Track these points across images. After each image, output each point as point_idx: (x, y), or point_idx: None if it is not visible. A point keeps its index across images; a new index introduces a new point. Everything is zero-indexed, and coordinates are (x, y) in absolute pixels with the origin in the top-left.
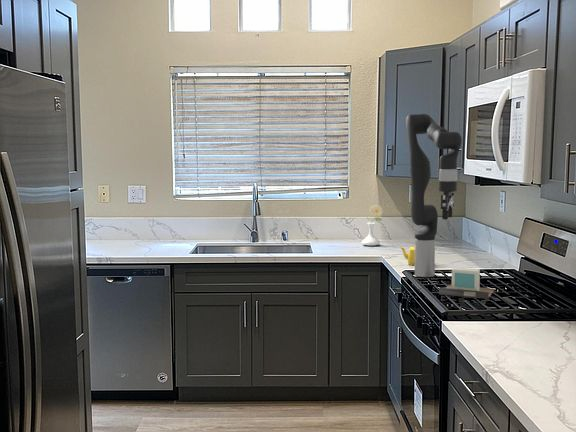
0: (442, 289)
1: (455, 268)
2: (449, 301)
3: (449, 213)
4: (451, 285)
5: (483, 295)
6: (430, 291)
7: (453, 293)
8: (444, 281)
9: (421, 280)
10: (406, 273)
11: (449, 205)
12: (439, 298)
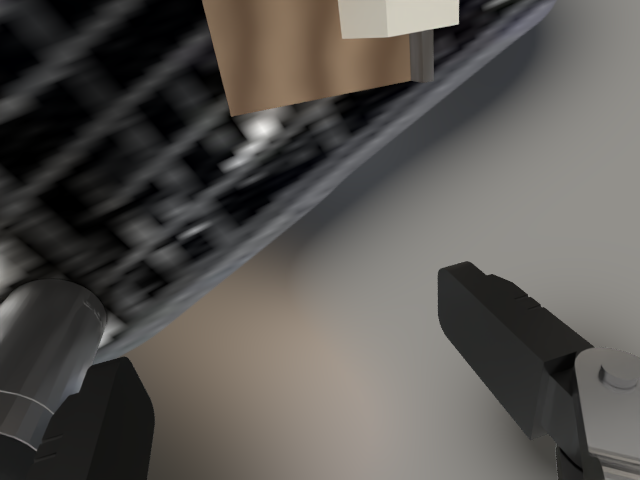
0: (431, 63)
1: (422, 15)
2: None
3: (129, 439)
4: (235, 99)
5: None
6: (328, 155)
7: None
8: (105, 192)
9: (163, 276)
10: None
11: (635, 468)
12: None
